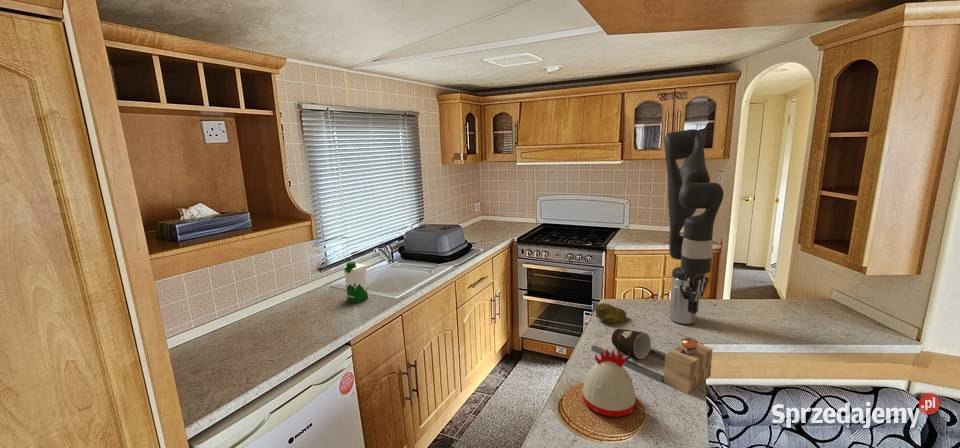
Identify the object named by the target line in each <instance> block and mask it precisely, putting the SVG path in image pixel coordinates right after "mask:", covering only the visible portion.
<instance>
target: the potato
mask: <svg viewBox="0 0 960 448" xmlns="http://www.w3.org/2000/svg"><path fill="white" fill-rule="evenodd" d="M594 311H595V316H596V318H597V319H599V320H600V321H602V322H606V323H609V324H619V323H623V322H624V321H626V319H627V312H626V311H625V309H622V308H619V307H616V306H614V305H611V304H610V303H605V302H602V303H599V304H597V305H596V306H595V310H594Z"/></svg>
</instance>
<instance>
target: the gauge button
mask: <svg viewBox="0 0 960 448" xmlns="http://www.w3.org/2000/svg"><path fill="white" fill-rule="evenodd" d="M681 344H682V346H683V347H685V352H684V354H685V355H688V356H692V355H693V354H694V349H697V346H698V340H697V339H695V338H691V337H683V338H682V340H681Z"/></svg>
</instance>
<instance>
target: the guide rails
mask: <svg viewBox="0 0 960 448" xmlns="http://www.w3.org/2000/svg"><path fill="white" fill-rule="evenodd" d="M590 347H591V349H590V350H591V351H592V352H594V353H597V354H598V355H600V352H602V353H603V355H604V356H605V355H606V350H607V349H604V348H602V347H600V346H597V345H595V344H594V345H592V346H590ZM608 352H609V356H610V357H611V355H612V351H609V350H608ZM648 354H650V355H652V356H654V357H657V358H660V359H661V360H664V361H665V355H666V354H667V353H666V352H663V351H661V350H658V349H655V348H654V347H651V348H650V351H649V353H648ZM614 355H615V357H616V358H617V357H618V354H615V353H614ZM624 358H625V357H622V356H621V359H624ZM622 366H623V367H626V368H629V369H631V370H633V371H634V372H635V371H636V372H637V373H639V374H641V375H643V376H647V377H648V378H650V379H653V380H656V381H657V382H660V383H664V374H661V373H658V372H656V371H654V370H651V369H649V368H648V367H644V366H642V365H640V364H638V363H636V362H633V361H631V360H629V359H628V360H627V359H626V361H625V362H624V364H623V365H622Z"/></svg>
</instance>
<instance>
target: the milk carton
mask: <svg viewBox="0 0 960 448" xmlns="http://www.w3.org/2000/svg"><path fill="white" fill-rule="evenodd" d="M367 266H368V265H367V264H362V263H357V262H355V261H348V262H346V265H345V266H343V267H342V269H343V270H342V271H343V274H344V277H345V284H346V285H345V286H346V301H347V302H349V303H353V304H359V303H362V302H363V301H364V302H365V301H366V300H369V293H368V286H367V285H368V284H367V275H366V274H367Z"/></svg>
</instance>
